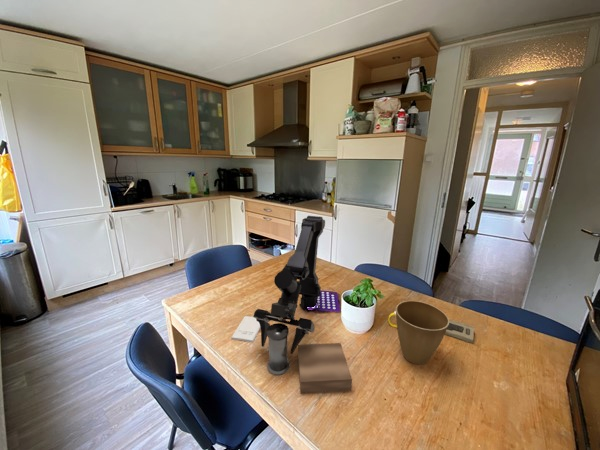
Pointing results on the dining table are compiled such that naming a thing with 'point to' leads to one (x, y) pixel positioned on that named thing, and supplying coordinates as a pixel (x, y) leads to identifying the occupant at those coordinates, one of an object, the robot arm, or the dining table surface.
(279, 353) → the cylinder
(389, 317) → the watch
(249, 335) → the external hard drive
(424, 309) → the brown hollow tapered container
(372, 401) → the dining table surface
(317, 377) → the stand
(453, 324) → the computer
